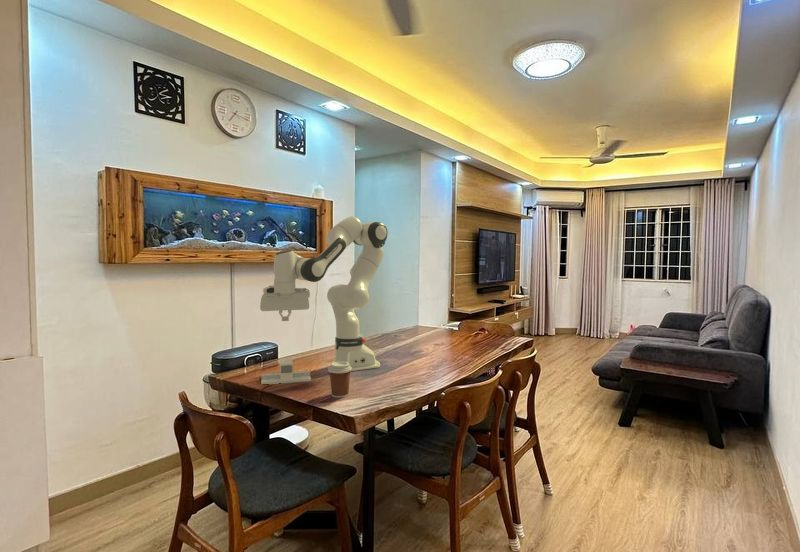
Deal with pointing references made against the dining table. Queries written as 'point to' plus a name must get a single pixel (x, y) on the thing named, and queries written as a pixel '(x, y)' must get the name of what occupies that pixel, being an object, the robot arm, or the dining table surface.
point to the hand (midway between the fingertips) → (285, 320)
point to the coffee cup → (340, 378)
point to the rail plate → (275, 379)
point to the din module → (286, 369)
